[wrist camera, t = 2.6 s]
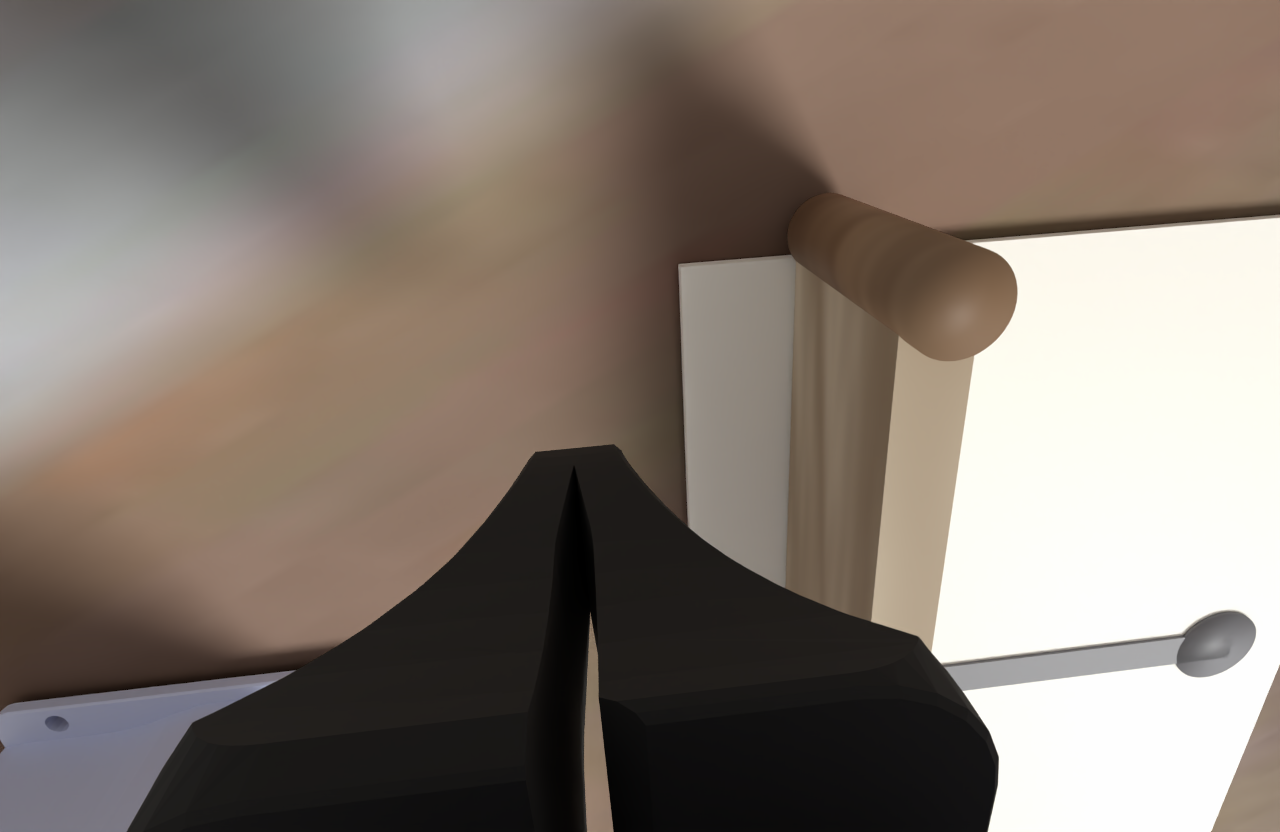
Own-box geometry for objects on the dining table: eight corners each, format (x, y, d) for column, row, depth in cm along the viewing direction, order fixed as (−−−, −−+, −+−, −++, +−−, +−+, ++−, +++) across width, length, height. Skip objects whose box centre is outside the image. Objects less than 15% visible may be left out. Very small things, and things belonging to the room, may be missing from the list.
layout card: (703, 959, 26) (705, 972, 25) (678, 263, 15) (681, 268, 15) (1177, 888, 27) (1186, 899, 27) (1454, 200, 16) (1475, 202, 16)
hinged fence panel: (775, 658, 19) (850, 854, 14) (788, 195, 14) (909, 252, 9) (833, 651, 20) (927, 843, 15) (865, 190, 14) (1026, 242, 10)
